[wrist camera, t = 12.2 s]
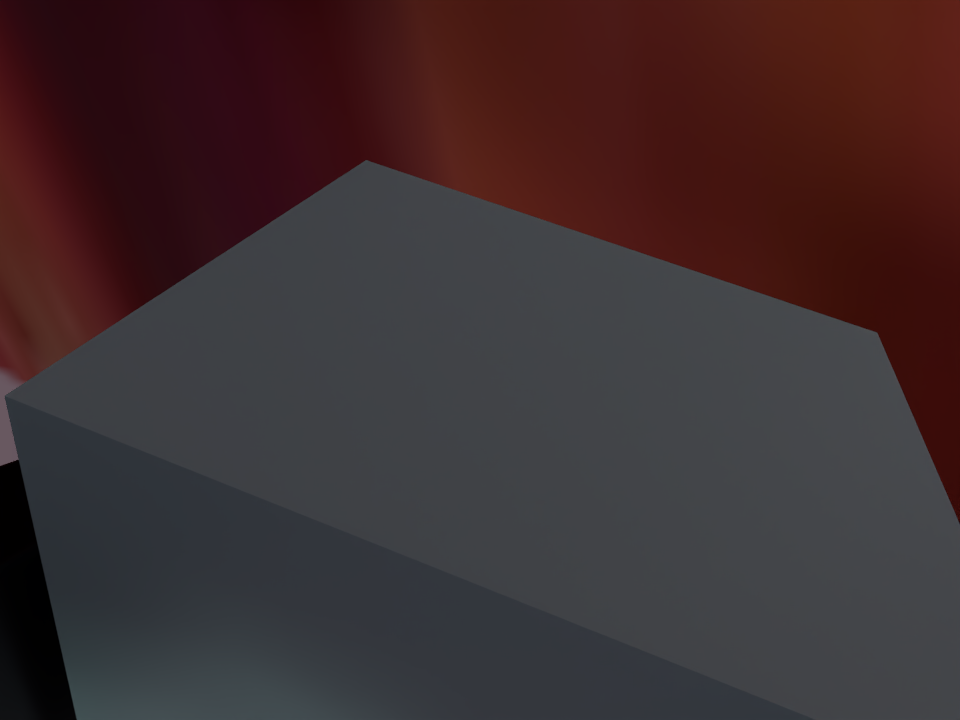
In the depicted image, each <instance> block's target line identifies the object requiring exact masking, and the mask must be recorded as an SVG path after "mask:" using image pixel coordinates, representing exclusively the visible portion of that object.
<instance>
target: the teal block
mask: <svg viewBox="0 0 960 720" xmlns="http://www.w3.org/2000/svg"><path fill="white" fill-rule="evenodd" d="M5 400H6V405H7V409H8V413H9V418H10V422H11V427H12V431H13V436H14V441H15V445H16V449H17V454H18V458H19V463H20V467H21V472H22V476H23V481H24V485H25V490H26V494H27V499H28V503H29V508H30V512H31V517H32V521H33V526H34V530H35V535H36V539H37V544H38V548H39V553H40V557H41V562H42V566H43V570H44V575H45V579H46V584H47V588H48V593H49V597H50V602H51V606H52V611H53V615H54V620H55V624H56V629H57V633H58V638H59V642H60V647H61V651H62V656H63V660H64V665H65V669H66V674H67V678H68V682H69V687H70V691H71V696H72V700H73V705H74V709H75V714H76V718H77V720H960V524H959V521H958V519H957V517H956V514H955V512H954V510H953V507H952V505H951V503H950V500H949V498H948V496H947V493H946V491H945V489H944V486H943V484H942V482H941V480H940V477H939V475H938V473H937V470H936V468H935V466H934V463H933V461H932V459H931V456H930V454H929V452H928V449H927V447H926V445H925V442H924V440H923V438H922V435H921V433H920V431H919V429H918V426H917V424H916V422H915V419H914V417H913V415H912V412H911V410H910V408H909V405H908V403H907V401H906V398H905V396H904V394H903V391H902V389H901V387H900V384H899V382H898V380H897V378H896V375H895V373H894V371H893V368H892V366H891V364H890V361H889V359H888V357H887V354H886V352H885V350H884V347H883V345H882V343H881V340H880V338H879V336H878V333H877V332H874V331H871V330H868V329H865V328H862V327H859V326H856V325H853V324H850V323H847V322H844V321H841V320H838V319H835V318H832V317H829V316H826V315H823V314H820V313H817V312H814V311H811V310H808V309H805V308H802V307H799V306H797V305H794V304H791V303H788V302H785V301H782V300H779V299H776V298H773V297H770V296H767V295H764V294H761V293H758V292H755V291H752V290H749V289H746V288H743V287H740V286H737V285H734V284H731V283H728V282H725V281H722V280H719V279H717V278H714V277H711V276H708V275H705V274H702V273H699V272H696V271H693V270H690V269H687V268H684V267H681V266H678V265H675V264H672V263H669V262H666V261H663V260H660V259H657V258H654V257H651V256H648V255H645V254H642V253H639V252H636V251H634V250H631V249H628V248H625V247H622V246H619V245H616V244H613V243H610V242H607V241H604V240H601V239H598V238H595V237H592V236H589V235H586V234H583V233H580V232H577V231H574V230H571V229H568V228H565V227H562V226H559V225H556V224H554V223H551V222H548V221H545V220H542V219H539V218H536V217H533V216H530V215H527V214H524V213H521V212H518V211H515V210H512V209H509V208H506V207H503V206H500V205H497V204H494V203H491V202H488V201H485V200H482V199H479V198H476V197H473V196H471V195H468V194H465V193H462V192H459V191H456V190H453V189H450V188H447V187H444V186H441V185H438V184H435V183H432V182H429V181H426V180H423V179H420V178H417V177H414V176H411V175H408V174H405V173H402V172H399V171H396V170H393V169H390V168H388V167H385V166H382V165H379V164H376V163H373V162H370V161H367V160H366V161H364V162H363V163H361V164H360V165H358V166H357V167H355V168H354V169H352V170H351V171H349V172H347V173H346V174H344V175H343V176H341V177H340V178H338V179H337V180H335V181H334V182H332V183H331V184H329V185H328V186H326V187H324V188H323V189H321V190H320V191H318V192H317V193H315V194H314V195H312V196H311V197H309V198H308V199H306V200H304V201H303V202H301V203H300V204H298V205H297V206H295V207H294V208H292V209H291V210H289V211H288V212H286V213H285V214H283V215H281V216H280V217H278V218H277V219H275V220H274V221H272V222H271V223H269V224H268V225H266V226H265V227H263V228H262V229H260V230H258V231H257V232H255V233H254V234H252V235H251V236H249V237H248V238H246V239H245V240H243V241H242V242H240V243H238V244H237V245H235V246H234V247H232V248H231V249H229V250H228V251H226V252H225V253H223V254H222V255H220V256H219V257H217V258H215V259H214V260H212V261H211V262H209V263H208V264H206V265H205V266H203V267H202V268H200V269H199V270H197V271H196V272H194V273H192V274H191V275H189V276H188V277H186V278H185V279H183V280H182V281H180V282H179V283H177V284H176V285H174V286H173V287H171V288H169V289H168V290H166V291H165V292H163V293H162V294H160V295H159V296H157V297H156V298H154V299H153V300H151V301H149V302H148V303H146V304H145V305H143V306H142V307H140V308H139V309H137V310H136V311H134V312H133V313H131V314H130V315H128V316H126V317H125V318H123V319H122V320H120V321H119V322H117V323H116V324H114V325H113V326H111V327H110V328H108V329H107V330H105V331H103V332H102V333H100V334H99V335H97V336H96V337H94V338H93V339H91V340H90V341H88V342H87V343H85V344H83V345H82V346H80V347H79V348H77V349H76V350H74V351H73V352H71V353H70V354H68V355H67V356H65V357H64V358H62V359H60V360H59V361H57V362H56V363H54V364H53V365H51V366H50V367H48V368H47V369H45V370H44V371H42V372H41V373H39V374H37V375H36V376H34V377H33V378H31V379H30V380H28V381H27V382H25V383H24V384H22V385H21V386H19V387H18V388H16V389H15V390H13V391H11V392H10V393H8V394H7V395H5Z"/></svg>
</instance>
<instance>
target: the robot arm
mask: <svg viewBox="0 0 960 720" xmlns="http://www.w3.org/2000/svg"><path fill="white" fill-rule="evenodd" d="M0 720H77V718H76V714H75V709H74V705H73V700H72V696H71V691H70V687H69V682H68V678H67V674H66V669H65V665H64V660H63V656H62V651H61V647H60V642H59V638H58V633H57V629H56V624H55V620H54V615H53V611H52V606H51V602H50V597H49V593H48V588H47V584H46V579H45V575H44V570H43V566H42V562H41V557H40V553H39V548H38V544H37V539H36V535H35V530H34V526H33V521H32V517H31V512H30V508H29V503H28V499H27V494H26V490H25V485H24V481H23V476H22V472H21V467H20V463H19V460H16V461H13V462H10V463H8V464H5V465H2V466H0Z"/></svg>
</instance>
